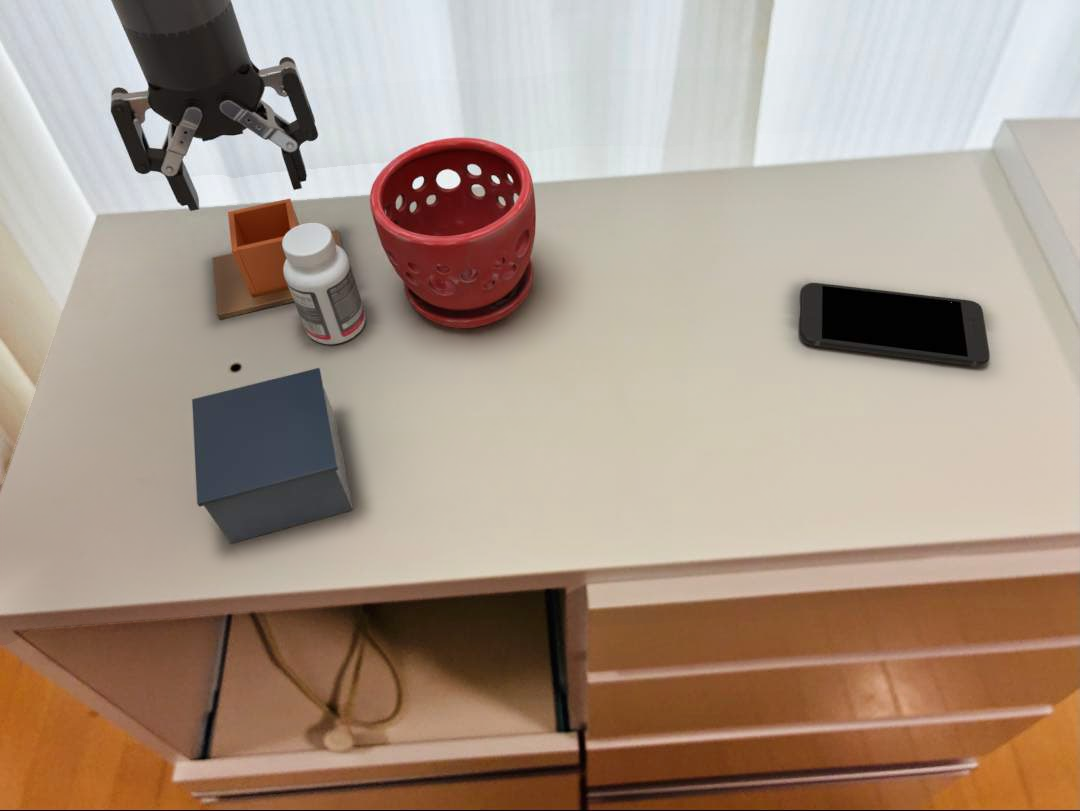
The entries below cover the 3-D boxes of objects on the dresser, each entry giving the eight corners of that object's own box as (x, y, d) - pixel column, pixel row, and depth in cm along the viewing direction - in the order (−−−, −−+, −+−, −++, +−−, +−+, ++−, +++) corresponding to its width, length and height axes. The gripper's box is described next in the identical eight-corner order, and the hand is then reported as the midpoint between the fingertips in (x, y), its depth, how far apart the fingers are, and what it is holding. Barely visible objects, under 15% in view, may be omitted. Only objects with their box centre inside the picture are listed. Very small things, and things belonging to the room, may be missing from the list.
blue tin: (227, 547, 60) (197, 504, 55) (220, 446, 65) (191, 399, 60) (356, 511, 61) (337, 466, 56) (338, 415, 67) (319, 367, 62)
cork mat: (219, 319, 74) (216, 315, 73) (214, 262, 79) (212, 257, 78) (351, 288, 76) (350, 283, 75) (339, 234, 80) (337, 229, 80)
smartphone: (799, 285, 73) (801, 277, 73) (979, 306, 71) (983, 298, 70) (796, 346, 69) (799, 339, 68) (988, 371, 66) (992, 364, 66)
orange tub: (252, 297, 75) (231, 251, 70) (247, 258, 78) (227, 211, 74) (313, 283, 75) (297, 236, 71) (306, 244, 79) (290, 197, 74)
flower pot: (414, 239, 79) (392, 130, 70) (549, 249, 78) (545, 138, 68) (378, 339, 72) (347, 231, 62) (527, 352, 70) (518, 243, 60)
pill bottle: (359, 295, 75) (333, 209, 67) (372, 336, 72) (347, 250, 64) (300, 312, 74) (267, 226, 66) (311, 353, 71) (278, 269, 63)
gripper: (62, 47, 54) (161, 240, 66) (282, 9, 56) (336, 203, 69) (68, -5, 58) (159, 185, 71) (271, -38, 60) (324, 152, 73)
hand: (246, 194), depth 70 cm, fingers open, 8 cm apart
